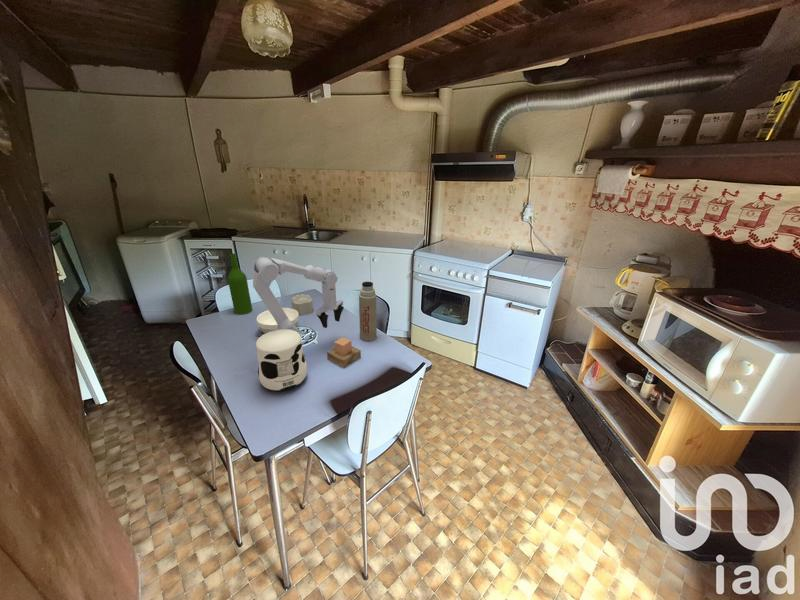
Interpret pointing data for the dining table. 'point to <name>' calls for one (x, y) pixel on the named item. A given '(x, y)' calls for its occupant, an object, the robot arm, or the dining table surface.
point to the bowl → (269, 323)
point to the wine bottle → (239, 288)
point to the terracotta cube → (343, 346)
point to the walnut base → (344, 357)
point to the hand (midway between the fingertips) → (331, 324)
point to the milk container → (281, 360)
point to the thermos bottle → (367, 312)
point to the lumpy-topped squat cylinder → (302, 304)
